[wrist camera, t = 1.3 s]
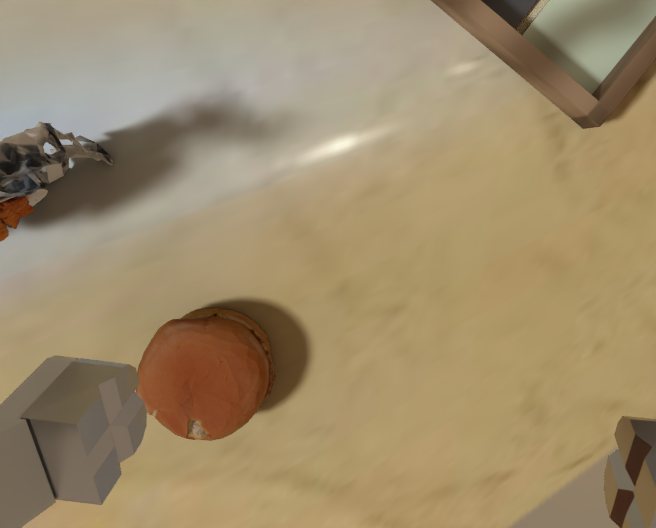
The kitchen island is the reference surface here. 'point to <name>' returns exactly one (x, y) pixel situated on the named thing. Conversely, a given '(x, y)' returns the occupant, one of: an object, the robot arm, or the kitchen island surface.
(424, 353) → the kitchen island surface
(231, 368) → the burger
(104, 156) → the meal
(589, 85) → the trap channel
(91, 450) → the robot arm
